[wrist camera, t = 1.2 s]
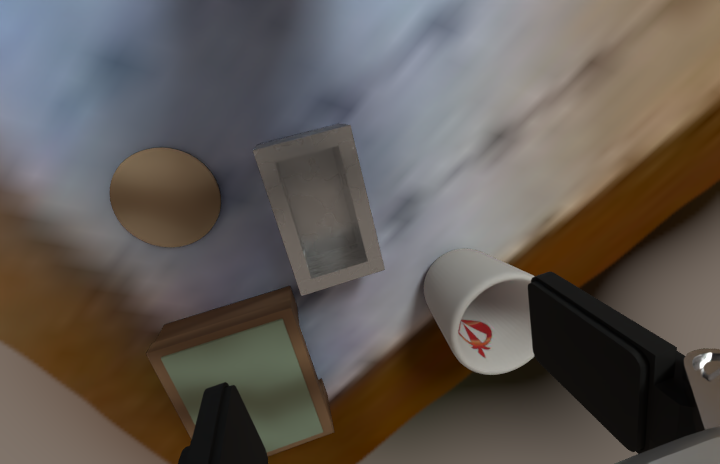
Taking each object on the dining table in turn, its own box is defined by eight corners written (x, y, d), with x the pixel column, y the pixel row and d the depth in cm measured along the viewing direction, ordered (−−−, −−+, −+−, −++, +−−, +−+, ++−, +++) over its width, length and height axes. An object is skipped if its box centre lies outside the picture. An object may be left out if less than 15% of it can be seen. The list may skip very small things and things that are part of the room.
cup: (533, 248, 34) (605, 285, 26) (505, 325, 36) (565, 381, 28) (425, 230, 31) (471, 266, 23) (401, 314, 33) (438, 373, 25)
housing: (257, 144, 26) (252, 150, 22) (337, 123, 27) (350, 124, 22) (297, 267, 30) (301, 296, 25) (368, 246, 30) (384, 269, 26)
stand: (163, 322, 29) (144, 355, 25) (289, 283, 30) (291, 309, 26) (219, 435, 33) (211, 479, 29) (328, 397, 34) (334, 434, 30)
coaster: (92, 162, 24) (90, 163, 24) (199, 136, 25) (198, 136, 25) (139, 257, 27) (137, 259, 26) (235, 229, 28) (234, 231, 27)
